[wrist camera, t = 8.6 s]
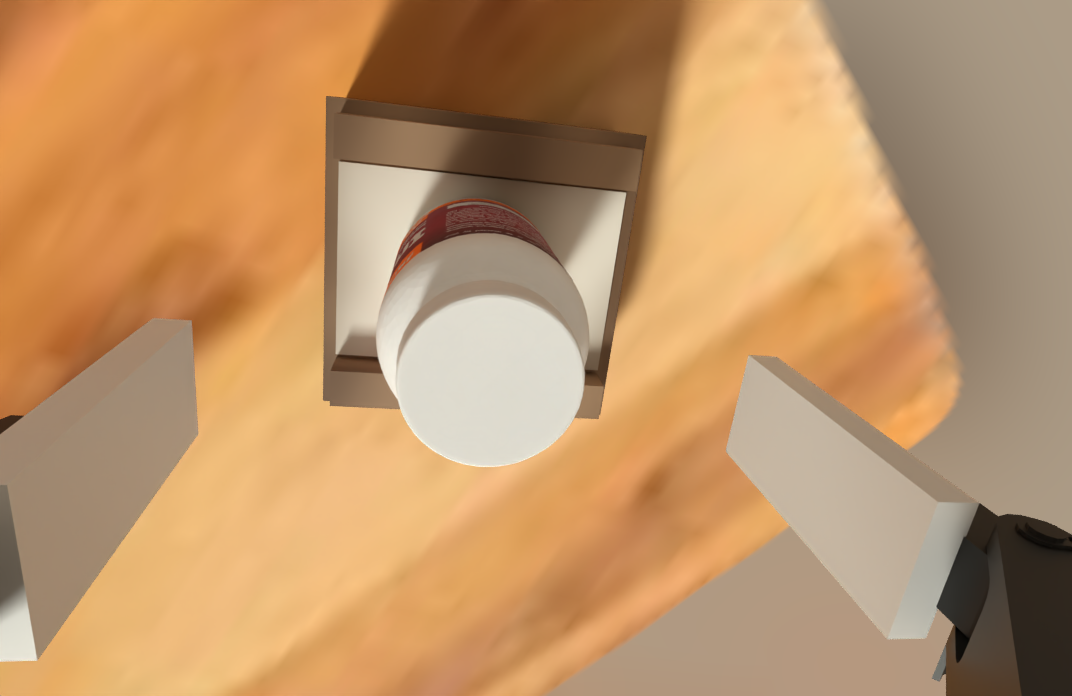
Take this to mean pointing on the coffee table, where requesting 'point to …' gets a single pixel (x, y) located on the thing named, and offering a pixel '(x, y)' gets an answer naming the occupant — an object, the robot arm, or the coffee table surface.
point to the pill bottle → (482, 335)
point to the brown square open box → (453, 173)
